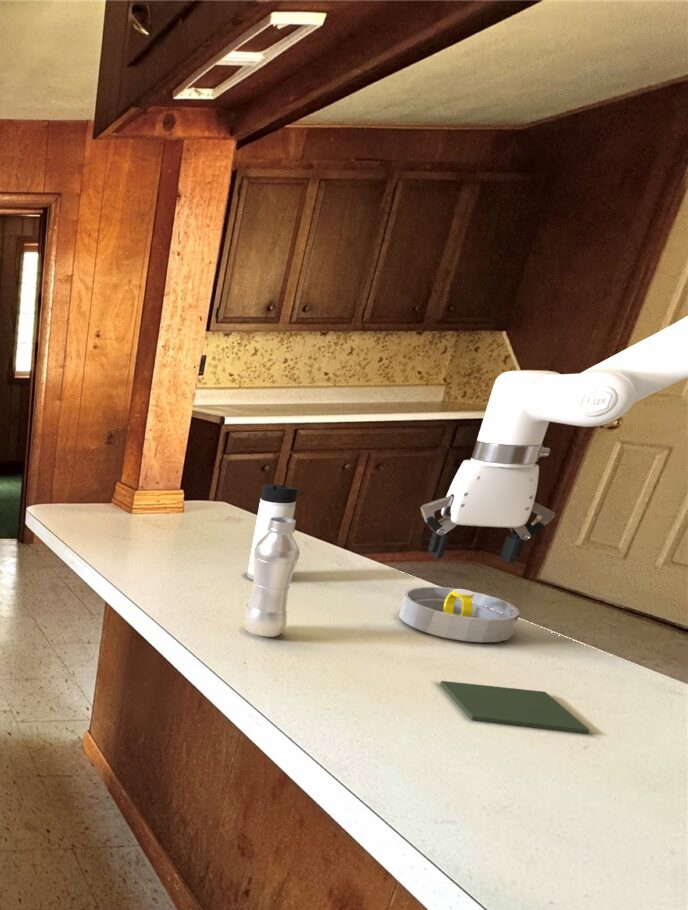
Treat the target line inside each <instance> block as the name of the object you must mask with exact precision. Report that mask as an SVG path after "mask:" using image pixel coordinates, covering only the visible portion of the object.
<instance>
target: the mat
mask: <svg viewBox="0 0 688 910" xmlns="http://www.w3.org/2000/svg"><path fill="white" fill-rule="evenodd" d="M439 685H440V686H441V687H442V688H443V690H444V691H445V692H446V693H447V694H448V695H449V696H450V697H451V699H452V700H453V701H454V702H455V703H456V704H457V705H458V706H459V708H460V709H461V710H462V711H463V712H464V713H465V715H466V716H468V718H469V719H470V720H471V721H479V722H485V723H487V722H488V723H495V724H503V725H512V726H521V727H527V728H528V727H529V728H536V729H546V730H554V731H562V732H568V733H569V732H571V733H577V734H587V735H588V733H589V732H590V729H589V728H588V727H587V726H586V725H584V724H583V723H582V721H579V719H577V718H576V717H575V716H574V715H572V713H570V712H569V711H568V710H567V709H566V708H565V707H564V706H562V705H561V704H560V703H559V702H557V701H556V700H555V699H554V698H553V697H552V696H551V695H550V694H549V693H547V692H546V691H541V690H533V689H522V688H513V687H504V686H493V685H485V684H474V683H465V682H456V681H447V680H440V683H439Z"/></svg>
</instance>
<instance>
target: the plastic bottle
mask: <svg viewBox="0 0 688 910" xmlns="http://www.w3.org/2000/svg"><path fill="white" fill-rule="evenodd" d="M296 523H297V520H296V519H294V518H293V519H290V518H284V517H273V518H271V519H270V522H269V526H268V529H267V530H268V531H269V533H268V534H267V535H265V536H264V537H263V538H262V539H261V540H260V541H259V542H258V543H257V545H256V547H255V550H254V575H253V580H252V585H251V589H250V592H249V593H250V594H249V597H248V601H247V604H246V605H245V607H244V611H243V614H242V624H243V627H244V629H245V631H247V632H249V633H250V634H253V635H256V636H261V637H267V638H268V637H269V638H270V637H271V638H272V637H277V636H279V635H280V634H282V633H283V632H284V630H285V628H286V626H287V620H288V612H287V606H288V597H289V596H288V595H289V588H290V584H291V581H292V578H293V574H294V571H295V569H296V566H297V564H298V560H299V557H300V548H299V545H298V543H297V542H296V540H295V538H294V537H293V534H295V532H296Z"/></svg>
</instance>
